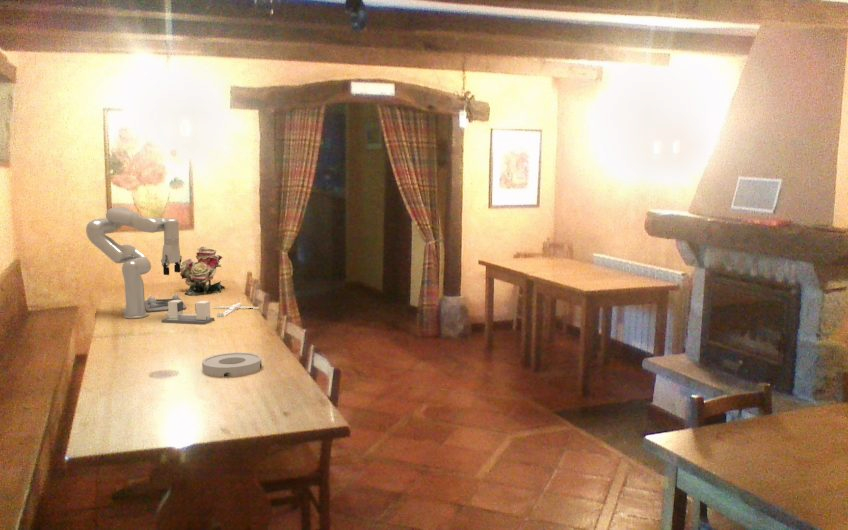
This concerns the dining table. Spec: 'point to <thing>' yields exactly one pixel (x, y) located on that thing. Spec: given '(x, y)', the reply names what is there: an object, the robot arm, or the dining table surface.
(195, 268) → the rose bouquet
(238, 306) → the articulated figure
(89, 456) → the dining table surface
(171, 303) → the cream rectangular block
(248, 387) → the dining table surface
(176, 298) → the grey tray
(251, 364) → the ashtray
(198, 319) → the rail board
